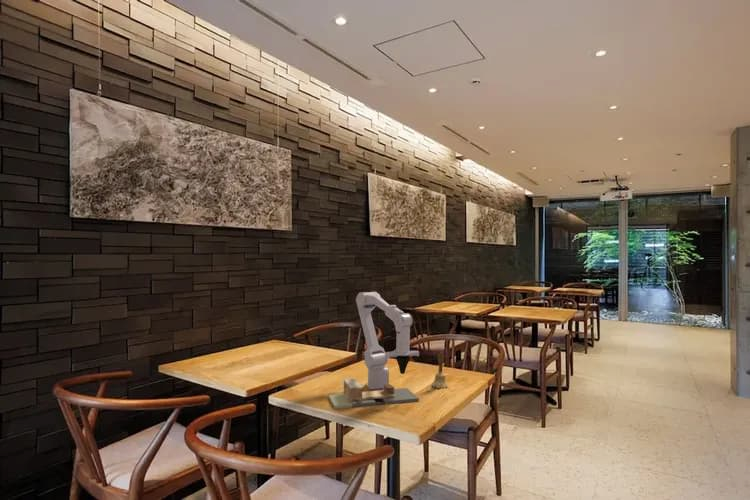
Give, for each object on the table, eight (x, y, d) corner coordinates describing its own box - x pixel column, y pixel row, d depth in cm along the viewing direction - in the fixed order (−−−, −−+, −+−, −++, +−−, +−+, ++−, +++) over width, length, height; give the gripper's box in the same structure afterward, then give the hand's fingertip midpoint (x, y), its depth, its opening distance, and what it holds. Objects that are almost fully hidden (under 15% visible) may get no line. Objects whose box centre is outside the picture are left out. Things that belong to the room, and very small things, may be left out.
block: (356, 393, 180) (356, 384, 180) (359, 396, 175) (359, 387, 175) (346, 394, 178) (346, 384, 178) (348, 397, 174) (348, 388, 174)
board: (406, 390, 192) (406, 388, 192) (418, 401, 178) (418, 398, 178) (328, 397, 181) (328, 394, 181) (334, 408, 168) (334, 405, 168)
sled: (389, 391, 185) (389, 383, 185) (394, 396, 179) (395, 388, 179) (344, 395, 180) (345, 386, 180) (348, 400, 173) (348, 392, 173)
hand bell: (450, 384, 202) (450, 351, 202) (447, 389, 194) (447, 354, 195) (432, 382, 205) (433, 349, 205) (429, 387, 197) (430, 353, 197)
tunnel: (354, 392, 183) (355, 378, 183) (362, 402, 172) (362, 387, 172) (343, 393, 182) (343, 379, 182) (350, 403, 170) (350, 388, 170)
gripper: (390, 344, 178) (389, 376, 178) (422, 343, 182) (421, 374, 182) (384, 341, 184) (384, 372, 184) (415, 339, 189) (415, 370, 189)
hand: (402, 373), depth 183 cm, fingers closed
